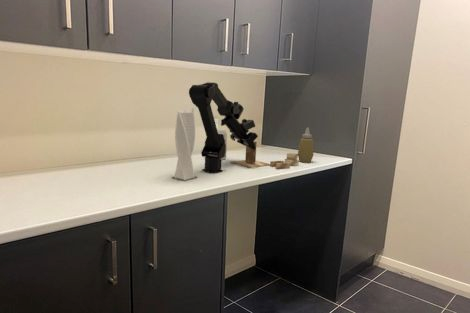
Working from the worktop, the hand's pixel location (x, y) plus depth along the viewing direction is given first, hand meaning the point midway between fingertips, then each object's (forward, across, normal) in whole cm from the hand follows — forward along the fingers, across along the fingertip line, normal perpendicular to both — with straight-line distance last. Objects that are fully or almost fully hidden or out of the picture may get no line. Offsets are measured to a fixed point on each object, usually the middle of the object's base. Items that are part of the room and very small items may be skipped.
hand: (253, 148), depth 163 cm
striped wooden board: (+4, 0, +6) cm, 8 cm away
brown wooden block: (+4, 0, +6) cm, 7 cm away
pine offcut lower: (+18, -7, -7) cm, 21 cm away
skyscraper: (-23, -20, +34) cm, 46 cm away
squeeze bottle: (+27, -2, -16) cm, 31 cm away
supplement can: (-3, +16, +14) cm, 21 cm away
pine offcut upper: (+16, -8, -9) cm, 20 cm away
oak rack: (+12, -11, -1) cm, 16 cm away
